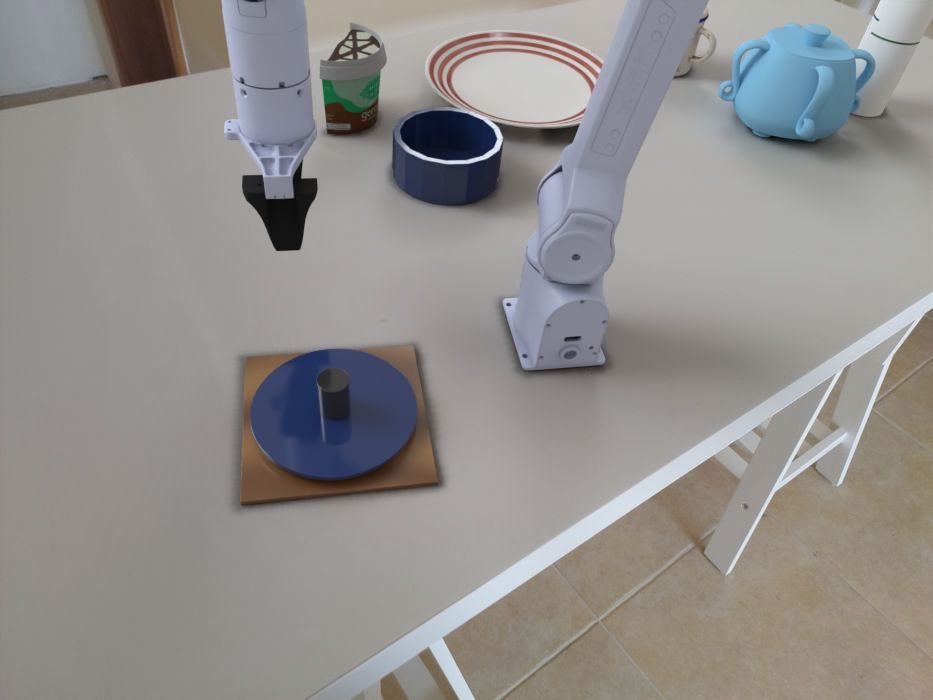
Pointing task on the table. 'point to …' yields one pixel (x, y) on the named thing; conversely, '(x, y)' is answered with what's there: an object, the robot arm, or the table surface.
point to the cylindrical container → (890, 49)
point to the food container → (353, 81)
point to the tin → (446, 155)
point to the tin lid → (333, 414)
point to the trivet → (277, 484)
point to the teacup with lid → (693, 44)
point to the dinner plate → (515, 77)
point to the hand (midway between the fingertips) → (287, 220)
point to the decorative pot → (796, 82)
